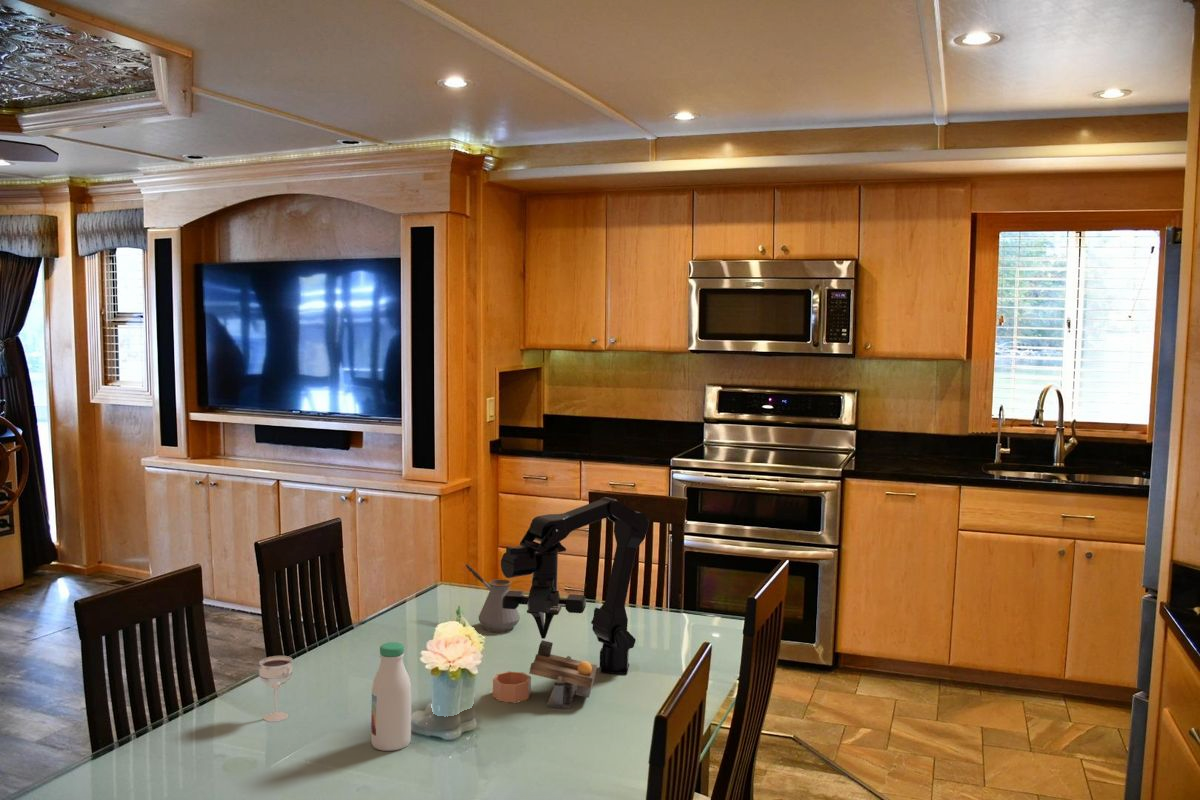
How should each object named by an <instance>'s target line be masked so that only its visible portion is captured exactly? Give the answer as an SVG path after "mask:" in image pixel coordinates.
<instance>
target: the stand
mask: <svg viewBox="0 0 1200 800" xmlns="http://www.w3.org/2000/svg"><path fill="white" fill-rule="evenodd" d="M576 689H577V685H575V684H571V683H566V682H561V683H557V681H556V682H555V683H554V685H553V689H552V692H551V694H550V696H549V699H548V701H547V703H546V708H548V709H549V708H550V709H564V710H570V708H571V706H572V703H573V701H574V697H575V694H576Z"/></svg>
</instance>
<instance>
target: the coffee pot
mask: <svg viewBox="0 0 1200 800" xmlns="http://www.w3.org/2000/svg"><path fill="white" fill-rule="evenodd" d="M465 567H466V569H464V568H465ZM462 569H463V571H465V572H466V571H469V572H471V574H472V575H473V576H474V577H475V578H476V579H477V580H479V581H480V582H481V583H482V584H483V585H484V586H485V587H486V588H487V589H488V590H489V593H488V595H487V597H486V599H485V602H484V604H483V606H482V607H481V610H480V612H479V615H478V622H479V623H480V624H481V626H482V627H484V629H485V630H487V631H489V632H495V633H499V632H500V633H503V632H508V631H511V630H513V628H514V627H516V626H517V624H518V623H519V621H520V619H521V618H520V617H521V616H520V612H519V611H518V609H517V608H518V607H517V608H516V609H504V608H502V600H503V597H504V596H505V594H506V593H507V592H508V591H510V586H511V585H512V581H511V580H510V579H503V578H502V579H501V578H500V579H492V580H489V581H488V583H487V582H486V581H485V579H484V578H483V577H482V575H480V574H479V572H478V571H475V569H473V567H471V566H470V565H469V564H465V565H464V566H463V568H462Z"/></svg>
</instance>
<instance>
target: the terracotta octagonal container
mask: <svg viewBox="0 0 1200 800" xmlns="http://www.w3.org/2000/svg"><path fill="white" fill-rule="evenodd" d="M531 689H532V676H530V675H529V674H527V673H525V672H522V671H504V672H501V673H497V674H496V675H495V676H494V678H493V679H492V698H494V697H495V698H496V699H495V698H494V699H495V700H497V699H498V700H500V701H505V702H504V703H508V702H517V703H519V702H518V701H521V702H524V701H528V700H529V698H530V696H531V694H532V691H531ZM530 693H531V694H530ZM527 699H528V700H527ZM498 700H497V701H498ZM523 700H524V701H523ZM500 701H499V702H500Z"/></svg>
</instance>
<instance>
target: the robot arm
mask: <svg viewBox="0 0 1200 800" xmlns="http://www.w3.org/2000/svg"><path fill="white" fill-rule="evenodd" d="M604 519H608V520H610V522H612V523H613V524H614V525H613V534H614V538H615V539H614V540H615V542H616V547H615V552H614V557H613V562H612V565H611V566H612V567H611V571H610V576H609V580H608V584H607V585H608V586H607V590H606V594H605V595H606V596H605V600H604V603H603V604H602V605H601V606H600V607H594V609H593V617H592V620H591V622H590V623H591V625H592V632H593V633H594V635H595V636H596V639H597V641H598V642H599V643H601V644H602V645H601V646H602V647H601V648H600V650H599V668H600V673H602V674H614V675H615V674H616V675H617V674H618V675H627V674H628V672H629V669H630V663H629V657H630V656H629V652H630V649H633V648H634V647H635V644H636V638H635V637H634V636H633V635H632V634H631V633H630V632H629V630H628V620H629V618H628V615H627V610H626V601H627V597H628V592H629V587H630V581H631V577H632V573H633V568H634V563H635V557H636V553H637V549H638V547H639V546H640V545H641V544H642V543H643V541H644V540H645V538H646V535H647V534H648V533H647V532H648V529H649V527H650V520H649V519H648V517H647V515H646V514H645V513H643V512H640V511H635V510H633V509H631V508H629V507H628V506H626V505H624V504H623V503H622V502H620V501H618V500H617V499H615V498H611V497H607V496H604V497H601V498H599V500H598V499H597V500H596V501H592V502H590V503H588V504H587V503H586V504H585V505H582V506H580V507H577V508H573V509H571V510H569V511H566V512H563V513H553V514H550V513H549V514H543V515H538V516H535V517H533V519H531V522H530V525H529V528H528V529H527V531H526V532H525V534H524V536H523V537H522V539H521V540H520V542H519V546H507V547H506V548H505V552H504V553H503V554H502V557H501V560H500V568H501V569H500V570H501V572H502V575H503V576H504V577H505V578H507V579H510V578H512V579H513V578H518V577H524V576H525V577H526V576H531V575H532V578H531V580H532V581H531V586H530V589H529V594H528V595H525V593H524V591H522V590H521V591H520V590H509V591H508V592H507V593H506V594H505V596H504V597H503V600H502V608H504V609H516V608H518V607H519V606H520V605H527V609H526V613H527V614H530V615H532V617H533V619H534V621H535V623H536V626H537V629H538V631H539V635H540V638H541V640H544V639H546V637H547V635H548V631H549V629H550V627H551V623H552V621H553V619H554V617H555V616H558V615H559V613H561V610H562V607H563V608H565V610H566V611H567V612H568V614H569V613H570V614H583V613H584V612H585V609H586V607H587V597H586V596H585V595H584V594H574V593H573V594H572V593H569V594H568V596H567V598H562V597H560V590H558V565H559V564H558V563H559V561H558V560H559V559H558V557H559V556H558V554H559V553H561V552H562V553H563V552H566V551H567V548H566V547H565V546H563V545H562V543H561V541H563V540H565V539H566V538H568V536H569V535H570V534H571V533H573V531H576V530H578V529H580V528H584V527H586V526H588V525H591V524H594V523H596V522H599V521H601V520H604ZM536 541H538V542H536Z"/></svg>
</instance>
